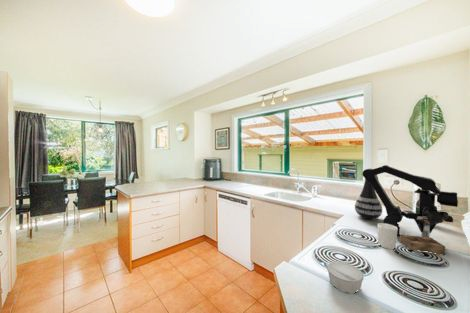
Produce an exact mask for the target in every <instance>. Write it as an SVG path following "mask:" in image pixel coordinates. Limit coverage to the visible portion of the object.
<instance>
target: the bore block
mask: <svg viewBox="0 0 470 313" xmlns="http://www.w3.org/2000/svg"><path fill="white" fill-rule="evenodd" d="M399 235H400V236H399V243H400V244H402V245H403V246H404V245H405V246H406V247H408V248H409V249H411V250H420V251H428V252H432V253H436V254H435V255H440V254H443V255H442V256H445V255H446V246H445V245H444V244H443V243H441V242H439V241H437V240H436V239H434V238H433V237H421V235H420V236H419V235H410V234H401V233H400V234H399ZM405 246H404V247H405ZM406 247H405V248H406ZM408 248H407V249H408ZM409 249H408V250H409ZM432 253H431V254H432Z"/></svg>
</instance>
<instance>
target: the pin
mask: <svg viewBox="0 0 470 313" xmlns="http://www.w3.org/2000/svg"><path fill="white" fill-rule="evenodd" d="M420 232H421V231H420ZM430 234H431V233H430V221H427V220H424V222H423V232H421V234H420V237H430ZM430 238H431V237H430Z"/></svg>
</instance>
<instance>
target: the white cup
mask: <svg viewBox="0 0 470 313" xmlns="http://www.w3.org/2000/svg"><path fill="white" fill-rule="evenodd" d="M397 232H398V228H397V227H396V226H393V225H390V224H386V223H382V222H381V223H379V222H378V223H377V244H378V243H379V244H380V245H381V246H380V245H379V244H378V245H379V246H380V247H382V248H385V249H388V250H394V248H395V249H396V244H397V241H398V240H397V239H398V236H397Z"/></svg>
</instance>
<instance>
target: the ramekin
mask: <svg viewBox="0 0 470 313" xmlns="http://www.w3.org/2000/svg"><path fill="white" fill-rule="evenodd" d="M326 268H327V272H328V278H330V279H329V281H330V283H331V285H332V284H333V285H332V286H333V287H334V286H335V287H336V289H337V288H338V289H340V290H342V291H344V292H343V293H345V292H348V293H347V294H351V293H353V294H356V293H355V292H356V291H357V290H359V289H360V288H362V284H363V281H364V272H362V270H360V268H358V267H356V266H355V265H352V264H351V263H349V262H344V261H339V260H338V261H337V260H336V261H331V262H328V264H327V267H326ZM335 287H334V288H335ZM338 289H337V290H338ZM340 290H339V291H340ZM360 290H361V289H360ZM360 290H359V291H360ZM342 291H341V292H342Z"/></svg>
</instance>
